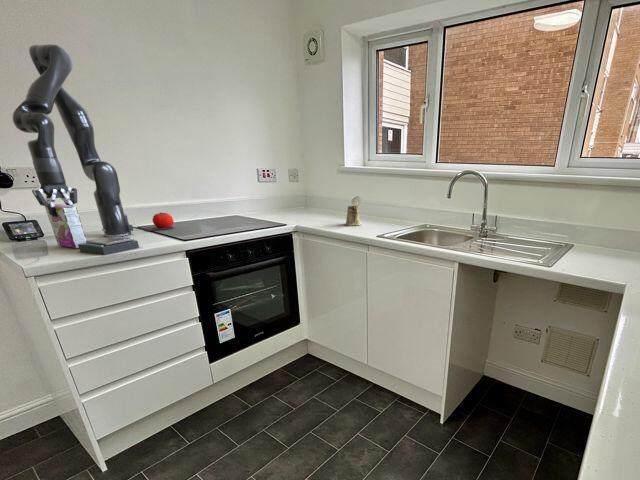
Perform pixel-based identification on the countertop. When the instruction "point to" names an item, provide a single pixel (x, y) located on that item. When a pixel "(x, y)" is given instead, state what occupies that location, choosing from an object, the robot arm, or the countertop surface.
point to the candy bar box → (67, 226)
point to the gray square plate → (109, 240)
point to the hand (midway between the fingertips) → (63, 215)
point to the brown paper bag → (353, 213)
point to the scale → (108, 247)
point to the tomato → (163, 220)
